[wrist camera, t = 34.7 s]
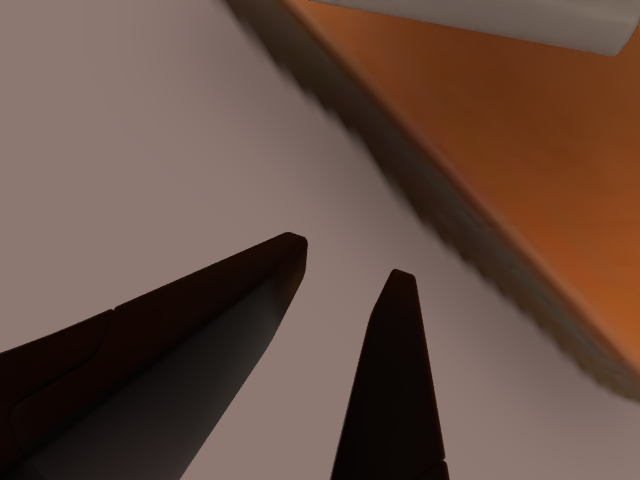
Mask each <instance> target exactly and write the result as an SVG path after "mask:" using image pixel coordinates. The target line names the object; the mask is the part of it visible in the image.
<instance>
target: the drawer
mask: <svg viewBox="0 0 640 480" xmlns="http://www.w3.org/2000/svg"><path fill="white" fill-rule="evenodd" d="M309 1H313V2H319V3H324V4H330V5H335V6H340V7H346V8H351V9H357V10H362V11H368V12H373V13H378V14H384V15H389V16H395V17H400V18H406V19H411V20H416V21H422V22H427V23H433V24H438V25H444V26H449V27H454V28H460V29H465V30H471V31H476V32H482V33H487V34H493V35H498V36H503V37H509V38H514V39H520V40H525V41H531V42H536V43H541V44H547V45H552V46H558V47H563V48H569V49H574V50H579V51H585V52H590V53H596V54H601V55H607V56H615V55H617V54H618V53H619V52H620V51H621V50H622V48H623V47H624V46H625V45H626V43H627V42H628V40H629V39H630V37H631V35H632V34H633V32H634V30H635V29H636V27H637V25H638V23H639V21H640V0H309Z"/></svg>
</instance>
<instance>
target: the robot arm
mask: <svg viewBox="0 0 640 480" xmlns="http://www.w3.org/2000/svg"><path fill="white" fill-rule="evenodd" d="M307 247H308V242H307V240H306V238H305V237H303V236H300V235H297V234H294V233H291V232H286V233H283V234H281V235H278V236H276V237H274V238H271V239H269V240H267V241H265V242H262V243H260V244H258V245H255V246H253V247H251V248H249V249H246V250H244V251H242V252H240V253H237V254H235V255H233V256H230V257H228V258H226V259H224V260H221V261H219V262H217V263H214V264H212V265H210V266H208V267H205V268H203V269H201V270H199V271H196V272H194V273H192V274H190V275H187V276H185V277H183V278H180V279H178V280H176V281H174V282H171V283H169V284H167V285H164V286H162V287H160V288H158V289H155V290H153V291H151V292H148V293H146V294H144V295H142V296H139V297H137V298H135V299H133V300H130V301H128V302H126V303H123V304H121V305H119V306H117V307H115V309H114V310H112V309H109V310H107V311H105V312H103V313H100V314H98V315H96V316H93V317H91V318H89V319H86V320H84V321H82V322H79V323H77V324H74V325H72V326H70V327H68V328H65V329H62V330H60V331H58V332H55V333H53V334H50V335H47V336H45V337H42V338H40V339H37V340H35V341H31V342H29V343H26V344H24V345H21V346H18V347H15V348H13V349H10V350H7V351H4V352H2V353H0V480H180V478H181V477H182V475H183V474H184V472H185V471H186V469H187V468H188V466H189V465H190V463H191V462H192V460H193V459H194V457H195V456H196V454H197V453H198V451H199V450H200V448H201V447H202V445H203V444H204V442H205V441H206V439H207V437H208V436H209V435H210V433H211V432H212V430H213V429H214V427H215V426H216V424H217V423H218V421H219V420H220V418H221V417H222V415H223V414H224V412H225V411H226V409H227V408H228V406H229V405H230V403H231V402H232V400H233V399H234V397H235V395H236V394H237V393H238V391H239V390H240V388H241V387H242V385H243V384H244V382H245V381H246V379H247V378H248V376H249V375H250V373H251V372H252V370H253V369H254V367H255V366H256V364H257V363H258V361H259V360H260V358H261V357H262V355H263V354H264V352H265V351H266V349H267V347H268V346H269V344H270V342H271V340H272V339H273V337H274V335H275V333H276V331H277V329H278V327H279V325H280V323H281V321H282V319H283V317H284V315H285V313H286V311H287V309H288V307H289V305H290V303H291V301H292V299H293V298H294V295H295V293H296V291H297V290H298V288H299V286H300V284H301V282H302V280H303V277H304V274H305V270H306V259H307ZM444 459H445V451H444V445H443V439H442V433H441V427H440V421H439V416H438V409H437V403H436V397H435V392H434V385H433V379H432V373H431V367H430V362H429V355H428V349H427V344H426V338H425V332H424V326H423V320H422V314H421V308H420V302H419V296H418V290H417V284H416V279H415V276H414V275H412V274H409V273H406V272H404V271H401V270H398V269H393V270H392V272H391V273H390V275H389V277H388V280H387V282H386V283H385V285H384V288H383V290H382V292H381V294H380V296H379V298H378V300H377V302H376V304H375V306H374V308H373V311H372V313H371V316H370V319H369V322H368V326H367V330H366V334H365V338H364V342H363V346H362V350H361V354H360V358H359V362H358V366H357V371H356V374H355V378H354V382H353V386H352V390H351V394H350V398H349V402H348V407H347V410H346V415H345V419H344V423H343V427H342V431H341V435H340V439H339V444H338V447H337V452H336V456H335V460H334V464H333V468H332V472H331V476H330V480H449V473H448V467H447V463H446V462H445V461H443V460H444Z"/></svg>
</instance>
